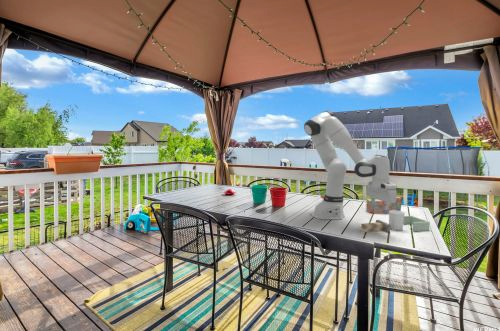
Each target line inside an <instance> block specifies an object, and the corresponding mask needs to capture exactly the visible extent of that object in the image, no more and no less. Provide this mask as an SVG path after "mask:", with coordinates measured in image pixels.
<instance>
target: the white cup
mask: <svg viewBox="0 0 500 331" xmlns="http://www.w3.org/2000/svg"><path fill="white" fill-rule="evenodd" d="M404 216H406V215H405V211H396V210H390V211H389V214H388V224H390V230H393V231H403V228H404V224H403V223H404Z"/></svg>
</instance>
